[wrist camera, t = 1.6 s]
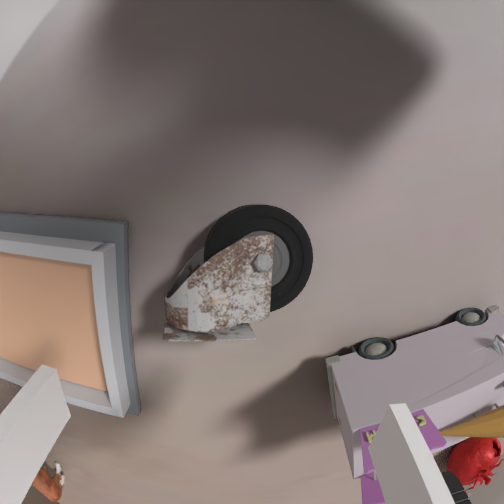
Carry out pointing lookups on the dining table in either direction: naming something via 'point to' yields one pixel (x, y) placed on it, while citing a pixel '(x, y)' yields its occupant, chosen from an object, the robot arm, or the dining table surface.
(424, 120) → the dining table surface
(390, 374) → the toy vehicle
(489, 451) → the pomegranate
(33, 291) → the tray
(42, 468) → the bull figurine
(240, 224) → the caster wheel
